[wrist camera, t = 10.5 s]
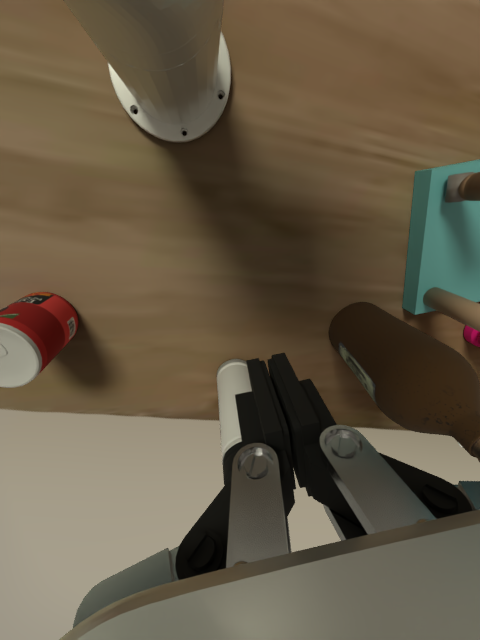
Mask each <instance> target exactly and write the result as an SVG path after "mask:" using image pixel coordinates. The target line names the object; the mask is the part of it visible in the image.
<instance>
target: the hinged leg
mask: <svg viewBox="0 0 480 640" xmlns="http://www.w3.org/2000/svg"><path fill="white" fill-rule="evenodd" d="M462 201H480V172H477V173H474V172H467V173H460V174H453V175H449V176H448V182H447V189H446V196H445V202H446V203H451V202H462Z"/></svg>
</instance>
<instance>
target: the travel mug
mask: <svg viewBox="0 0 480 640" xmlns="http://www.w3.org/2000/svg"><path fill="white" fill-rule="evenodd" d="M217 387H218V403H219V419H220V433H221V450H222V464H223V474H224V485H226V484H227V482H228V481H229V480H230V478H231V477H232V464H233V460H234V457H235V455H236V454H237V452H238V451H239V450H240V449H241V448H242V440H241V433H240V426H239V420H238V413H237V406H236V399H235V395H236V394H240V393H245V392H250V391H252V389H251V384H250V379H249V373H248V368H247V363H246V361H244V360H241V359H232V360H229V361H226V362H225V363H223V364H222V365H221V366H220V367H219V369H218V371H217Z"/></svg>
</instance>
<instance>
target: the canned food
mask: <svg viewBox="0 0 480 640" xmlns="http://www.w3.org/2000/svg"><path fill="white" fill-rule="evenodd" d="M77 328H78V316H77V313H76V311H75V309H74V308H73V307H72V305H71V304H70V303H69V302H68V301H66V300H65V299H64V298H62V297H60V296H58V295H56V294H53V293H48V292H37V293H32V294H29V295H27V296H25V297H23V298H21V299H19V300H18V301H16V302H14V303H12V304H10V305H9V306H7V307H5V308H3V309H1V310H0V387H6V388H11V387H19V386H23V385H25V384H27V383H29V382H30V381H32V380H33V379H34V378H35V377H36V376H37V375H38V374H39V373H40V372H41V371H42V370H43V369H44V368H45V367H46V366H47V365H48V364H49V363H50V362H51V360H52V359H53V358H54V357H55V356H56V355H57V354H58V353H59V352H60V351H61V350H62V349H63V347H64V346H65V345H66V344H67V343H68V342H69V341H70V340H71V339H72V338H73V337H74V335H75V334H76V332H77Z"/></svg>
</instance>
